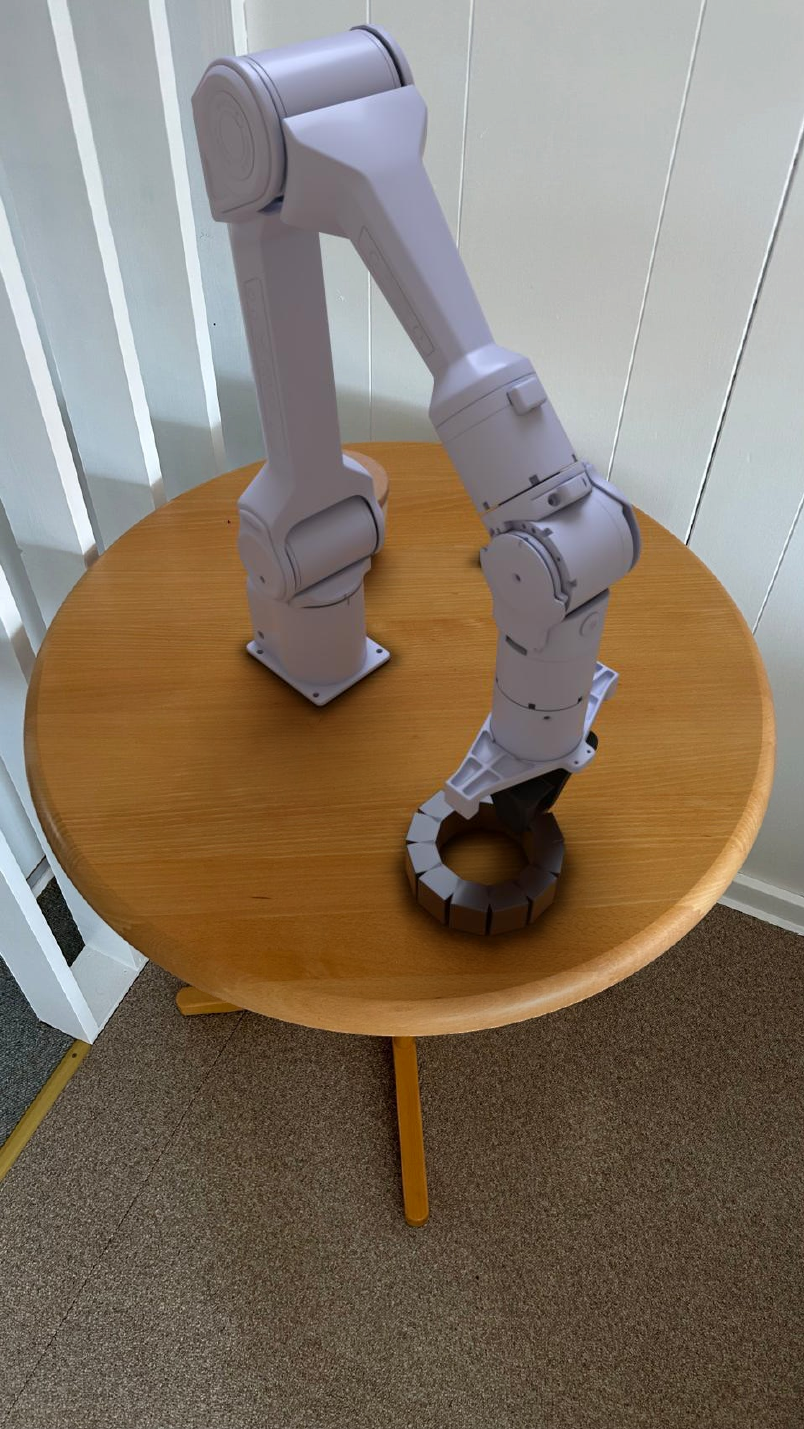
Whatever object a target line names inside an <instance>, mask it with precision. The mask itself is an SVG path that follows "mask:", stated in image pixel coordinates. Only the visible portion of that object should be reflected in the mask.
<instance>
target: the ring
mask: <svg viewBox="0 0 804 1429" xmlns="http://www.w3.org/2000/svg"><path fill="white" fill-rule="evenodd" d="M444 799H445V790H443V789H441V788H440V789H439V790H438V791H437V792H435V793H434V794H433V795H431V797H429V798H428V799H427V800H426V801H424V802H423V803H422V804H420V806H418V807H417V811H415V812H413V814H412V818H411V821H410V824H409V828H408V830H407V832H406V837H405V842H404V843H405V872H406V875H407V878H408V881H409V885H410V887H411V890H412V893H413V897H414V898H415V899H417V903H418V904H419V905H420V906H421V907H422V908H423V909H425V910H426V911H427V912H428V913H429V914H430V915H432V917H434V918H435V919H436V920H437V921H438V922H439V923H441V924H442V925H445V924H446V923H448V928H449V929H454V930H458V931H462V932H466V933H471V934H475V935H480V936H483V937H484V936H485V935H486V931H488V935H489V936H490V937H491V936H492V937H493V936H495V935H499V934H504V933H508V932H513V931H516V930H519V929H520V930H521V929H524V928H525V927H526V923H527V924H528V925H531V924H532V923H534V921H536V920H537V919H538V918H539V916H541V915H542V914H543V913H544V912H545V911H546V910H547V909H548V908H549V907H550V906H551V905H552V904H553V903H554V899H556V897H557V894H558V893H557V892H558V887H559V882H560V876H561V874H562V873H561V872H562V867H563V862H564V857H565V852H566V846H567V845H566V843H565V841H566V839H565V836H564V834H563V833H562V829H561V828H560V826H559V823H558V821H557V818H556V816H555V815H554V812H553V811H550V812H549V810H548V807H547V806H545V805H544V804H542V803H541V802H540V801H539V802H538V804H537V806H536V808H535V811H534V814H533V817H532V821H531V823H530V825H529V827H528V828H527V830H526V831H525V832H524V833H523V834H522V835H520V836H517V835H516V834H515V833H513V832H512V831H511V830H509V829H508V828H507V827H506V826H504V825H503V824H502V823H500V822H499V821H498V819H497V815H496V812H495V808H494V805H493V802H492V799H491V797H490V795H488V796H486V797H484V798H482V799H481V800H480V802H479V809H478V812H477V813H476V814H475V815H473V816H472V817H471V818H470V819H466V818H465V817H464V816H462V815H461V814H459V813H458V812H457V811H455V810H454V809H453V808H452V807H451V806H449V805H448V804H447V803H446V802H445V801H444ZM479 828H482V829H488V830H490V831H491V830H492V831H495V832H501V833H505V834H506V835H508V836H509V837H510V838H511V839H512V840H514V841H515V842H517V843H518V844H519V845H521V846H522V848H523V850H524V854H526V858H527V860H528V862H529V864H528V865H527V866H526V867H525V868H524V869H523V870H521V872H519V873H518V874H517V875H516V876H515V877H514V878H513V879H508V880H504V881H501V882H496V883H492V884H485V883H480V882H476V881H471V880H467V879H462V878H461V877H460V876H459V875H458V874H456V873H455V872H454V871H452V870H451V869H450V868H449V867H448V866H446V865H445V864H444V863H443V861H442V858H441V854H440V850H441V848H442V846H443V845H444V844H446V843H447V842H448V841H449V840H450V839H451V838H453V836H455V835H456V834H457V833H460V832H464V831H469V830H474V829H479Z"/></svg>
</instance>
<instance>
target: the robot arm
mask: <svg viewBox="0 0 804 1429" xmlns="http://www.w3.org/2000/svg"><path fill="white" fill-rule="evenodd" d="M190 103H191V108H192V117H193V118H192V119H193V124H194V129H195V135H196V141H197V147H198V153H199V157H200V164H201V169H202V174H203V179H204V185H205V186H204V187H205V191H206V195H207V198H208V203H209V208H210V215H211V218H212V219H213V221H214V222H216V223H223V224H224V223H225V224H226V227H227V228H226V229H227V233H228V239H229V245H230V250H231V257H232V262H233V268H234V274H235V280H236V287H237V293H238V298H239V305H240V310H241V316H242V322H243V327H244V328H243V329H244V333H245V334H244V335H245V340H246V345H247V346H246V347H247V351H248V358H249V365H250V369H251V370H250V371H251V375H252V382H253V388H254V393H255V400H256V406H257V411H258V417H259V423H260V428H261V435H262V440H263V447H264V452H265V458H266V459H265V463H264V464H263V466H262V468H261V469H260V470H259V471H258V473H257V474H256V476H255V477H254V478H253V480H252V481H251V482H250V483H249V485H248V486H247V487H246V489H245V490H244V491H243V493H242V494H241V495H240V497H239V498H238V500H237V503H236V505H237V509H238V519H239V529H238V535H237V551H238V555H239V558H240V560H241V563H242V566H243V569H244V570H245V572H246V574H247V578H246V582H245V592H246V598H247V604H248V609H249V615H250V622H251V628H252V633H253V640H252V641H250V642H249V643H248V644H247V645H246V650H247V653H249V654H250V655H252V656H253V657H254V658H256V660H258V661H260V663H262V664H263V665H265V666H266V667H267V668H269V669H270V670H271V671H272V672H273V673H275V674H276V675H277V676H279V677H280V678H281V679H283V680H284V682H286V683H288V684H289V685H290V686H292V687H293V688H294V689H295V690H297V692H299V693H301V695H303V696H304V697H305V698H306V699H308V700H309V701H311V702H312V703H313V704H315V705H316V706H319V707H321V706H324V705H326V704H327V703H329V702H331V701H332V700H333V699H334V698H336V697H337V696H339V695H340V694H342V693H343V692H344V691H346V690H348V689H349V688H350V687H351V686H353V685H354V684H356V683H358V682H359V681H361V680H362V679H363V678H364V677H367V675H369V674H370V673H372V672H373V671H374V670H376V669H377V668H379V667H381V666H382V665H383V664H385V663H386V662H387V661H389V659H390V658H391V655H390V652H389V651H388V650H387V649H385V648H384V647H383V646H381V645H379V644H378V643H377V642H375V641H374V640H372V639H371V638H369V637H368V636H367V624H366V605H365V603H366V602H365V584H364V576H365V574H366V573H368V572H369V571H370V570H371V569H372V562H371V560H372V558H371V556H373V555H376V554H378V553H379V552H381V550H382V549H383V547H384V545H385V541H386V524H385V521H384V517H383V514H382V511H381V508H380V506H379V504H378V502H377V499H376V495H375V492H374V486H373V477H372V476H371V474H370V473H369V472H368V471H367V470H366V469H365V468H364V467H363V466H362V465H360V464H359V463H358V462H356V461H355V460H354V459H352V458H350V457H348V456H346V455H344V454H342V449H343V447H342V446H343V445H342V437H341V428H340V420H339V419H340V418H339V409H338V400H337V390H336V380H335V371H334V362H333V352H332V344H331V343H332V342H331V332H330V325H329V316H328V306H327V296H326V287H325V277H324V268H323V267H324V266H323V260H322V259H323V258H322V250H321V240H320V233H321V234H326V235H330V236H334V237H338V238H342V239H346V240H349V241H350V243H351V244H352V246H353V248H354V250H355V251H356V252H357V255H358V256H359V258H360V259H361V261H362V263H363V264H364V265H365V268H366V269H367V271H368V272H369V274H370V276H371V278H372V279H373V280H374V282H375V284H376V285H377V287H378V289H379V290H380V292H381V294H382V295H383V297H384V298H385V300H386V302H387V304H388V305H389V307H390V309H391V311H393V313H394V315H395V317H396V318H397V320H398V321H399V323H400V324H401V326H402V328H403V330H404V331H405V333H406V335H407V336H408V339H409V340H410V341H411V343H412V344H413V347H415V349H416V351H417V353H418V354H419V356H420V357H421V359H422V361H423V362H424V365H425V366H426V367H427V369H428V371H429V372H430V374H431V376H432V378H433V386H432V393H431V397H430V401H429V402H430V403H429V407H428V418H429V420H430V423H431V424H432V426H433V428H434V430H435V432H436V434H437V436H438V438H439V440H440V442H441V445H442V446H443V448H444V450H445V452H446V454H447V457H448V459H449V460H450V462H451V464H452V466H453V467H454V470H455V471H456V473H457V476H458V477H459V479H460V481H461V483H462V485H463V487H464V489H465V491H466V493H467V495H468V497H469V499H470V501H471V503H472V505H473V506H474V508H475V511H476V513H477V514H478V516H479V518H480V520H481V523H482V524H483V526H484V528H485V530H486V533H487V534H488V536H489V538H490V542H489V544H488V545H485V547H480V548H479V551H480V561H481V562H480V566H481V571H482V574H483V577H484V580H485V582H486V585H487V586H488V589H489V591H490V594H491V598H492V615H491V617H492V618H493V619H494V620H495V626H496V628H497V629H498V632H497V642H496V654H495V655H496V656H495V668H494V678H493V690H492V700H491V710H490V711H489V713H488V715H487V717H486V719H485V721H484V722H483V724H482V726H481V728H480V730H479V731H478V733H477V735H476V737H475V738H474V740H473V742H472V744H471V746H470V748H469V750H468V752H467V753H466V755H465V757H464V759H463V761H462V763H461V764H460V765H459V767H458V769H457V770H456V771H455V772H454V773H453V774H452V775H451V776H450V777H449V778H448V779H447V780H446V781H445V782H444V791H445V799H444V801H445V802H446V803H447V804H448V805H449V806H451V807H452V808H453V809H454V810H455V811H457V812H458V813H459V814H461V815H462V816H464V817H465V818H466V819H470V818H471V817H472V816H473V815H475V814H476V813H477V812H478V809H479V802H480V800H481V799H482V798H484V797H486V796H488V795H490V797H491V799H492V802H493V805H494V808H495V812H496V815H497V819H498V821H499V822H500V823H502V824H503V825H504V826H506V827H507V828H508V829H509V830H511V831H512V832H513V833H515V834H516V835H517V836H520V835H522V834H523V833H524V832H525V831H526V830H527V828H528V827H529V825H530V823H531V821H532V817H533V814H534V811H535V808H536V806H537V804H538V802H539V801H540V802H541V803H542V804H544V805H545V806H547V807H548V811H549V810H551V809H552V808H553V806H554V805H555V803H556V802H557V800H558V799H559V797H560V795H561V793H562V792H563V790H564V788H565V786H566V785H567V783H568V781H569V779H570V778H571V777H572V775H574V774H575V775H577V774H580V773H582V772H583V771H584V770H585V769H586V768H588V767H589V765H591V764H592V763H593V762H594V760H595V756H596V751H597V749H598V745H599V738H598V735H597V734H596V733H595V732H593V730H592V727H593V725H594V723H595V722H596V719H597V717H598V714H599V712H600V710H601V707H602V705H603V704H604V702H607V701H609V700H610V699H612V698H613V697H614V696H615V695H616V693H617V688H618V683H619V680H620V679H619V678H620V674H619V673H618V672H616V671H615V670H613V669H612V668H610V667H608V666H606V665H605V664H603V663H602V662H600V661H598V657H599V652H600V646H601V641H602V637H603V632H604V627H605V623H606V622H605V621H606V617H607V616H606V615H607V610H608V606H609V601H610V595H611V589H610V587H612V586H613V585H615V584H616V583H618V582H619V581H621V580H622V579H624V577H625V576H626V575H628V574H630V572H632V571H633V570H634V569H635V567H636V566H637V564H638V563H639V560H640V558H641V553H642V543H643V542H642V534H641V528H640V526H639V522H638V520H637V517H636V515H635V510H634V507H633V504H632V503H631V502H630V500H629V498H628V497H627V496H626V495H625V494H624V493H623V492H622V491H621V490H620V489H619V488H618V487H616V486H615V485H614V484H613V483H612V482H610V481H608V480H607V479H604V477H602V476H601V475H600V474H599V472H598V470H597V469H596V467H595V465H594V464H593V463H592V464H590V462H589V460H588V459H585V458H584V459H583V460H581V461H580V459H579V457H578V455H577V453H576V451H575V449H574V447H573V445H572V443H571V441H570V438H569V436H568V434H567V433H566V431H565V428H564V426H563V425H562V423H561V420H560V419H559V416H558V414H557V412H556V410H555V408H554V406H553V404H552V401H551V400H550V398H549V396H548V394H547V391H546V390H545V387H544V386H543V384H542V382H541V379H540V378H539V376H538V374H537V371H536V369H535V368H534V366H533V363H532V361H531V359H530V358H529V357H527V355H525V354H522V353H519V352H517V351H513V350H511V349H508V348H505V347H504V346H500V345H499V344H497V342H496V340H495V338H494V335H493V334H492V333H493V332H492V331H491V328H490V326H489V324H488V321H487V318H486V317H485V316H486V315H485V314H484V311H483V309H482V306H481V303H480V301H479V299H478V296H477V294H476V291H475V289H474V287H473V283H472V282H471V279H470V276H469V273H468V272H467V269H466V267H465V264H464V262H463V259H462V256H461V254H460V252H459V249H458V247H457V246H458V245H457V244H456V241H455V239H454V236H453V234H452V232H451V229H450V227H449V224H448V222H447V218H446V217H445V214H444V212H443V210H442V206H441V204H440V202H439V199H438V197H437V194H436V192H435V190H434V187H433V184H432V182H431V180H430V176H429V174H428V172H427V170H426V167H425V164H424V161H423V158H424V154H425V149H426V146H427V136H428V120H429V119H428V118H429V117H428V116H429V115H428V106H427V104H426V102H425V100H424V98H423V97H422V96H421V94H420V92H419V90H418V89H417V88H416V84H415V79H414V76H413V73H412V69H411V67H410V64H409V62H408V59H407V57H406V54H405V52H404V51H403V49H402V47H401V46H400V44H399V43H398V41H397V40H396V39H395V37H394V36H393V35H392V34H391V33H390V32H389V31H388V30H387V29H385V28H383V27H382V26H380V25H379V24H374V23H362V24H357V25H354V26H351V28H350V29H349V30H346V31H342V32H338V33H334V34H328V35H325V36H320V37H315V38H311V39H307V40H303V41H299V42H293V43H289V44H285V45H281V46H277V47H276V46H275V47H271V48H267V49H264V50H260V51H255V52H250V53H246V54H243V55H238V56H237V55H235V54H229V55H221V56H218V57H216V58H214V59H213V60H212V61H210V62H209V64H208V66H207V67H206V69H205V71H204V72H203V74H202V76H201V79H200V80H199V82H198V83H197V86H196V87H195V90H194V92H193V93H192V95H191V97H190ZM577 462H578V463H577ZM484 548H485V549H486V550H485V549H484Z"/></svg>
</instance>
